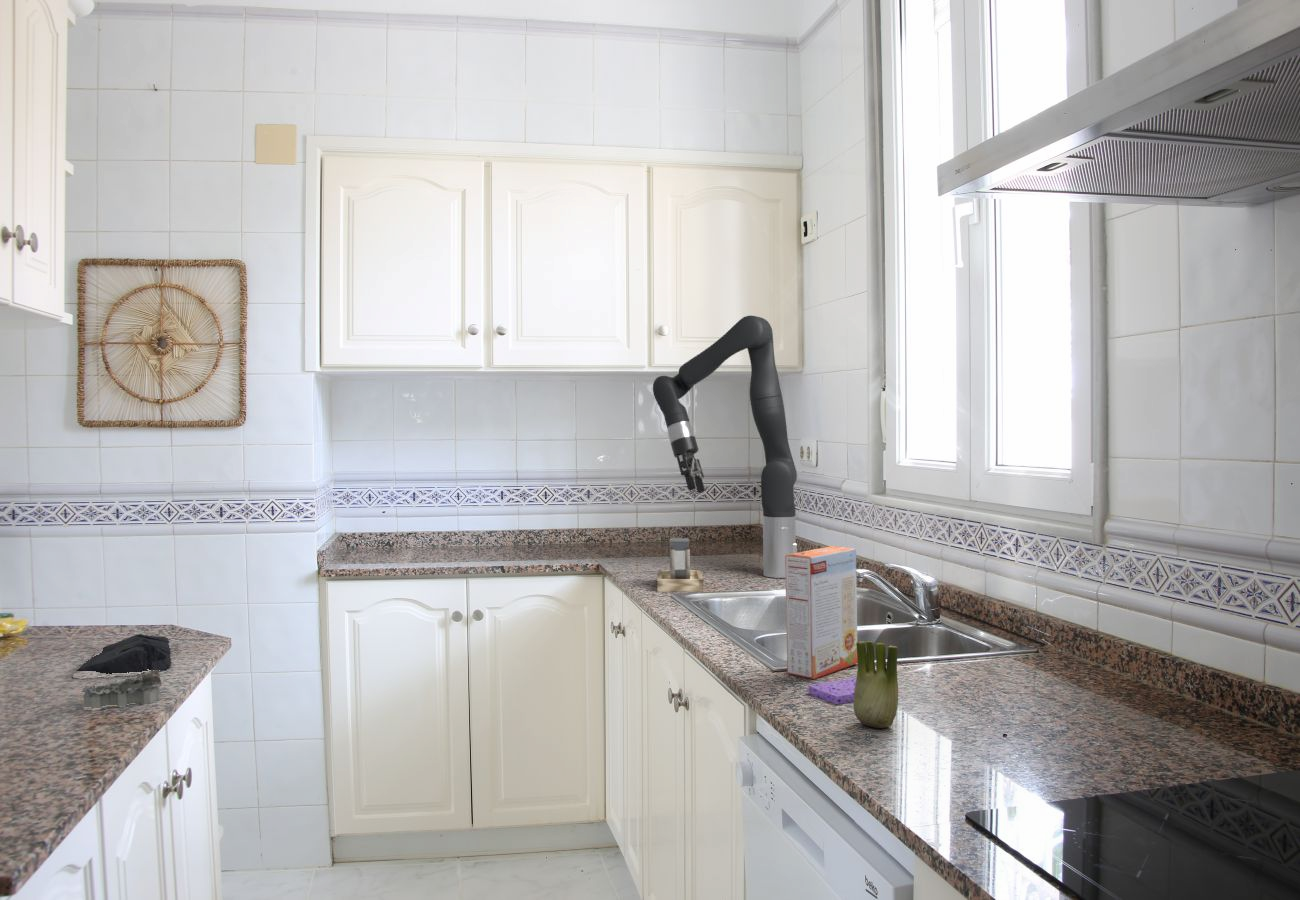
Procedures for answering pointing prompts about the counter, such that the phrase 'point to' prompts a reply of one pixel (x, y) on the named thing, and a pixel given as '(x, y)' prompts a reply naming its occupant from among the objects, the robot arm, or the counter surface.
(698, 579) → the wooden rack with posts
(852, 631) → the cracker box
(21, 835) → the counter surface
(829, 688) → the sponges
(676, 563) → the block
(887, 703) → the fennel bulb
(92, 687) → the egg carton
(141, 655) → the dark slate chunk
